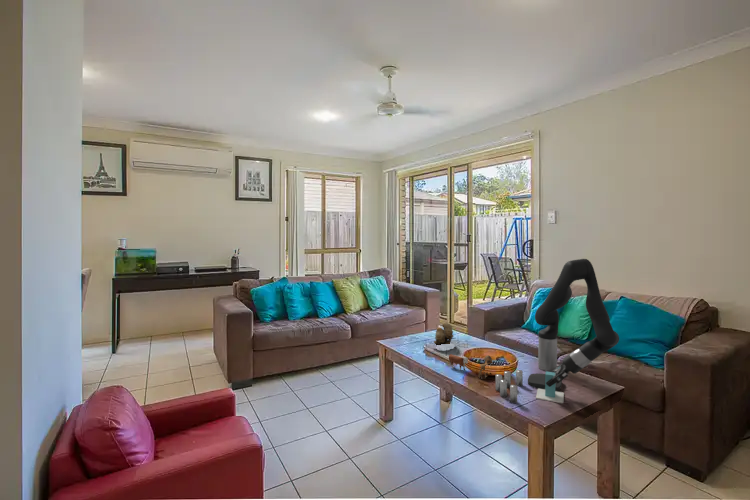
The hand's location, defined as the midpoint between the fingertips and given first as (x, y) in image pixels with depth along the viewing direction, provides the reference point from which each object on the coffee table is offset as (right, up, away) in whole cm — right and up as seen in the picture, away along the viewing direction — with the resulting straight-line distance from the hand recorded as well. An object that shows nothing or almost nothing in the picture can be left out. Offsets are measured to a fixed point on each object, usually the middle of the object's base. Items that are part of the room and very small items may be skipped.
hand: (548, 381), depth 170 cm
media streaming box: (+5, -7, +14) cm, 16 cm away
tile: (+1, -7, 0) cm, 7 cm away
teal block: (+1, -6, 0) cm, 6 cm away
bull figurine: (-33, -6, +35) cm, 48 cm away
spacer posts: (-16, -7, +6) cm, 19 cm away
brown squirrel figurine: (-34, -4, +74) cm, 81 cm away
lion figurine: (-21, -6, +26) cm, 34 cm away
